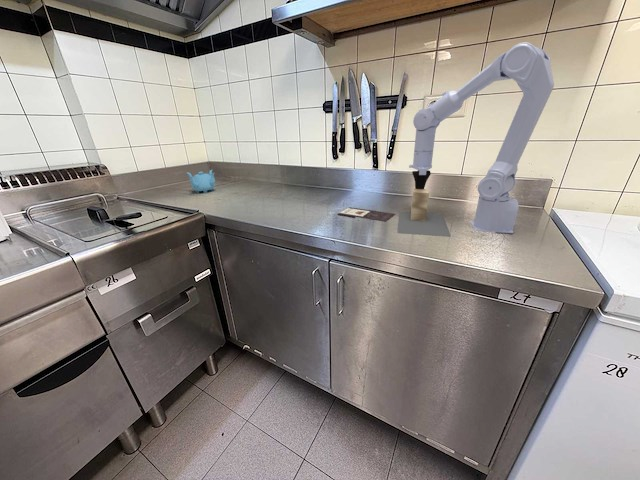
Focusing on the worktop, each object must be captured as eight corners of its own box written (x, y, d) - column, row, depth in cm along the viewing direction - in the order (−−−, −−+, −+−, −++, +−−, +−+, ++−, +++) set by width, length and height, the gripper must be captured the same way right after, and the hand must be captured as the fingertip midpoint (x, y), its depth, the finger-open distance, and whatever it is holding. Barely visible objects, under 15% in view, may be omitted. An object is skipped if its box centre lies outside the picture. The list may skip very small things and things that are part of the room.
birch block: (424, 216, 88) (428, 189, 84) (425, 220, 84) (429, 192, 80) (410, 215, 89) (413, 188, 85) (410, 220, 85) (413, 192, 81)
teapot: (192, 195, 132) (187, 175, 128) (190, 190, 143) (186, 171, 139) (219, 191, 138) (215, 172, 133) (215, 187, 148) (212, 168, 144)
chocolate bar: (386, 221, 85) (337, 213, 94) (385, 224, 85) (337, 216, 95) (395, 213, 91) (349, 207, 101) (395, 216, 92) (349, 209, 101)
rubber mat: (442, 215, 90) (442, 213, 89) (450, 238, 72) (451, 236, 72) (399, 213, 94) (399, 211, 93) (397, 234, 76) (397, 233, 76)
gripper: (410, 149, 93) (406, 187, 98) (410, 153, 80) (406, 197, 86) (432, 148, 91) (427, 188, 96) (435, 153, 78) (430, 198, 84)
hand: (419, 192), depth 91 cm, fingers closed
